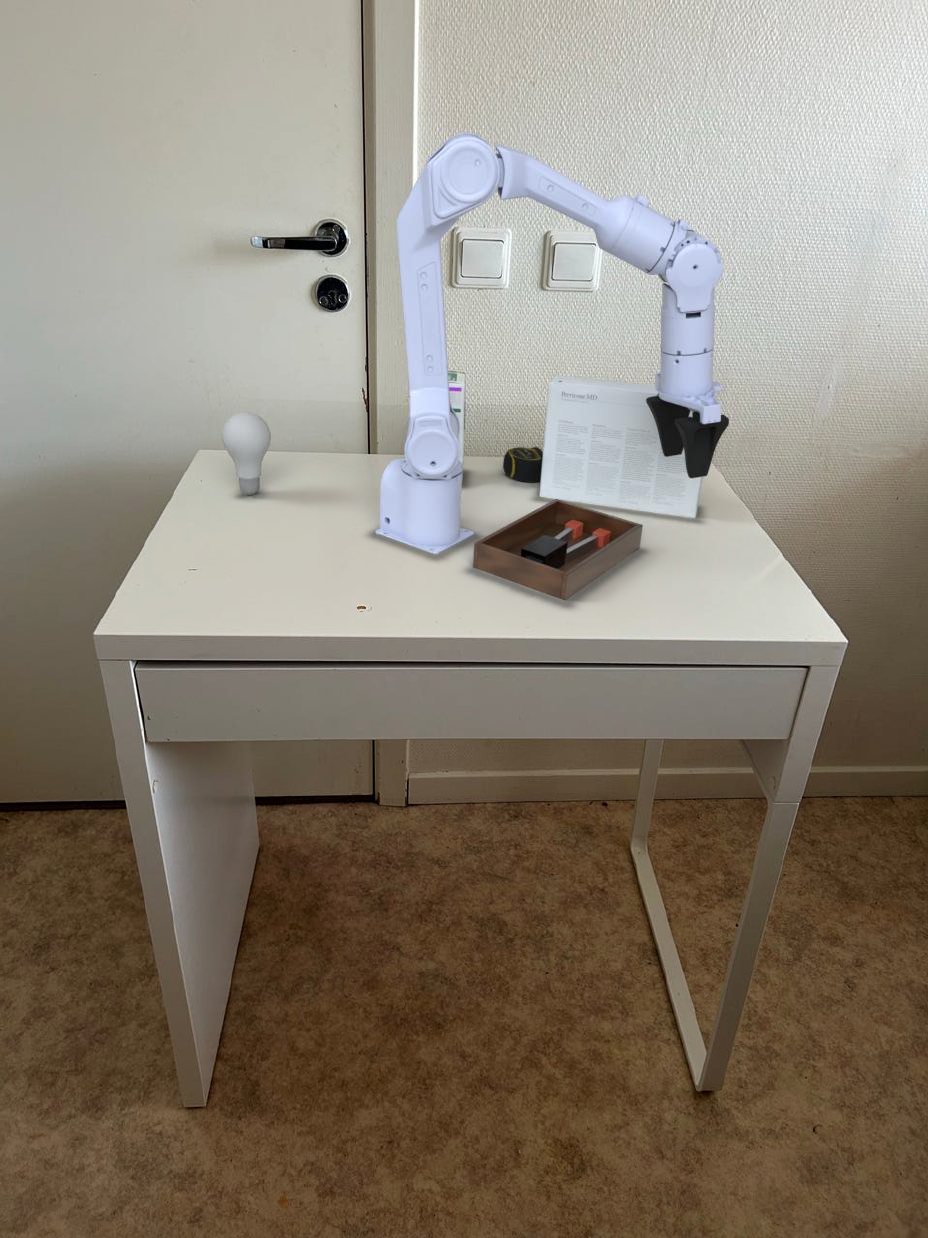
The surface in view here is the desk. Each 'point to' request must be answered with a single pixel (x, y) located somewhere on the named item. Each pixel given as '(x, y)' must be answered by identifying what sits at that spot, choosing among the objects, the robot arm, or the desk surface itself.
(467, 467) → the desk surface
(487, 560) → the tray
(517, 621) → the desk surface
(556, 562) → the tongs
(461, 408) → the syrup box
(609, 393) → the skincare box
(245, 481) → the lightbulb
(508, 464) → the tape measure
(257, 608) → the desk surface
